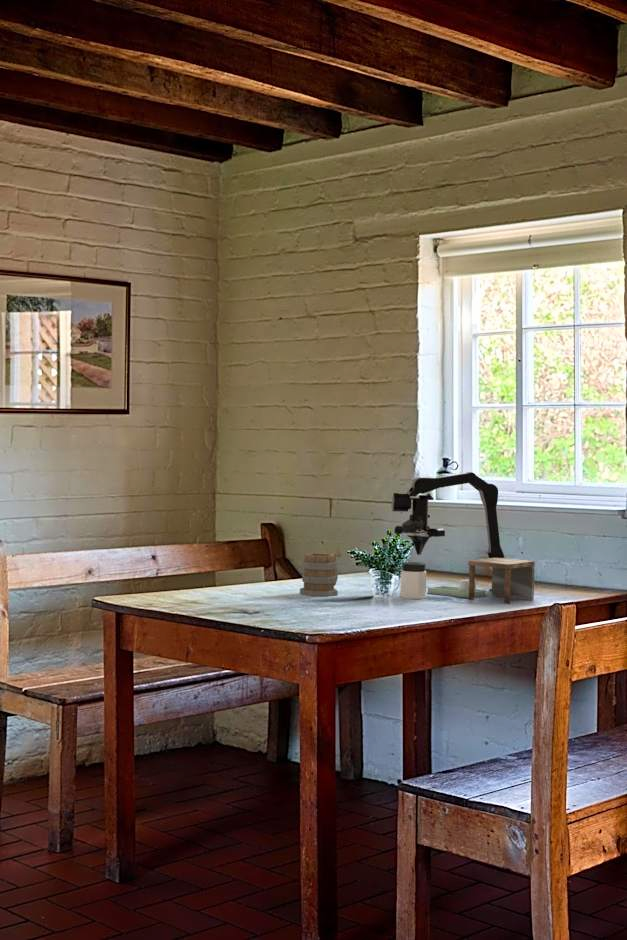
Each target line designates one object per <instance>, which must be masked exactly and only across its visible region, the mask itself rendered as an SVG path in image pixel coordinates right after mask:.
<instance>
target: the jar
mask: <svg viewBox="0 0 627 940" xmlns="http://www.w3.org/2000/svg"><path fill="white" fill-rule="evenodd" d="M401 570H402V572H401V571H400V587H399V589H400V598H402V599H408V600H422V599H426V597H427V571H426V563H424V562H418V561H417V562H415V561H406V562H405V563H404V562H402V565H401Z"/></svg>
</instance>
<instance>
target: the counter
mask: <svg viewBox="0 0 627 940" xmlns="http://www.w3.org/2000/svg"><path fill="white" fill-rule="evenodd" d="M535 564H536V561H535V560H526V559H515V558H506V557H505V558H487V559H485V558H479V559H471V560H468V564H467V565H468V567H469V572H468V573H469V576H468V579H469V598H468V600H469V601H474V600H475V598H474V595H475V580H476V567H483V568H484V567H486V568H489V567H492V570H491V573H492V575H491V589H492V591H491V596H492V597H494V596H495V597H502V598H503V604H504V605H511V599H520V600H529V601H533V600H534V598H535V597H534V596H535V595H534V594H535V566H536V565H535Z"/></svg>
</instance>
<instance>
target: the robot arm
mask: <svg viewBox="0 0 627 940" xmlns="http://www.w3.org/2000/svg"><path fill="white" fill-rule="evenodd" d="M464 484H469V485H470V486H472V487H473V488H474V489H475V490H476V491H477V492H478V493H479V497H480V500H481V504H482V505H483V508H484V515H485V523H486V532H487V540H488V541H487V544H488V547H487V551H485V550H484V552H483V554H484V559H487V558H506V557H505V555H504V551H503V549H502V547H501V541H500V530H499V523H498V514H497V513H498V511H497V505H498V502H499V501H498V500H499V499H498V498H499V488H498V487H497V486H496V485H495V484H493V483H488V482H486V481H485V479H482V478H481V477H479V476H478V475H476V473H474V472H471V471H467V472H465V473H457V474H453V475H446V476H440V477H421V476H420V477H416V478H414V479H413V480H412V483H411V487H410V488H409V489H408V490H407V492H406V493H398V492H393V493H392V498H391V499H392V500H391V503H390V504H391V512H396V513H397V512H398V513H399V512H404V513H405V512H406V513H407V512H408V511H409V510H411V514H410V515H409V518H408V519H407V520H405V521H404V522H403V523H402V524H401V525H396V526H395V527H394V534H399V535H401V534H408V535H407V537H408V538H410V539H411V541H412V543H413V546H414V548H415V549H414V550H415V552H416V555H417V556H421V555H422V552H423V551H424V548H425V546H426V544H427V542H428V541H429V539H430V538H432V537H433V538H434V537H436V538H437V537H438V538H439V537H446V531H445V529H444V527H443V528H442V527H441V528H440V527H430V526H429V525H428V523H429V522H428V521H429V520H428V519H430V518H431V515H430V514H429V501H433V500H435V499H434V497H433V496H432V495H431V493H429V492H432V491H435V490H437V489H440V488H446V487H452V486H457V485H459V486H460V485H464ZM488 568H489V569H490V570H491V571H492V567H488ZM489 591H490V592H492V588H490V589H489Z"/></svg>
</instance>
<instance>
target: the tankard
mask: <svg viewBox="0 0 627 940" xmlns="http://www.w3.org/2000/svg"><path fill="white" fill-rule="evenodd" d="M342 556H343V552H342V551H340V550H339V549H335V550H334V551H333V552H331V553H320V552H318V553H317V552H315V553H313V552H311V553H305V554H304V560H302V568H303V569H304V570H303V574H302V575H301V576H302V577H301V579H302V580H301V581H302V582H303V587H301V588H299V594H301V595H302V596H307V597H320V598H321V597H325V598H326V597H335V596H338V591H339V590H337V589H336V588H335V586H336V585H337V581H338V578H339V577H338V575H339V573H338V567H337V557H339V558H340V557H342Z"/></svg>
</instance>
